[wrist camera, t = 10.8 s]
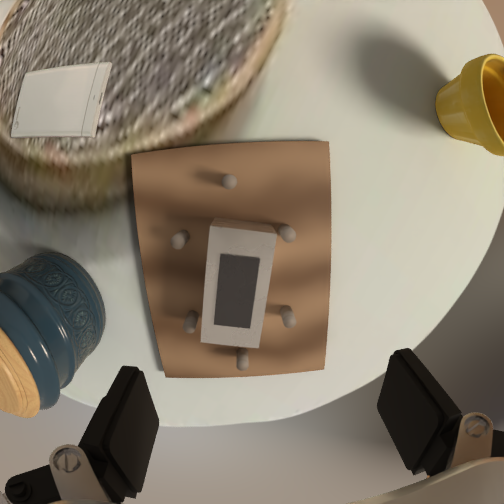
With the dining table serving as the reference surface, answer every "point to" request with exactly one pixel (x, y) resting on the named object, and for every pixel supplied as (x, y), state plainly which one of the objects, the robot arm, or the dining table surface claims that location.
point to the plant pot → (475, 104)
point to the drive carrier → (237, 282)
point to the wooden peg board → (196, 246)
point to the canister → (45, 330)
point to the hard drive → (61, 101)
